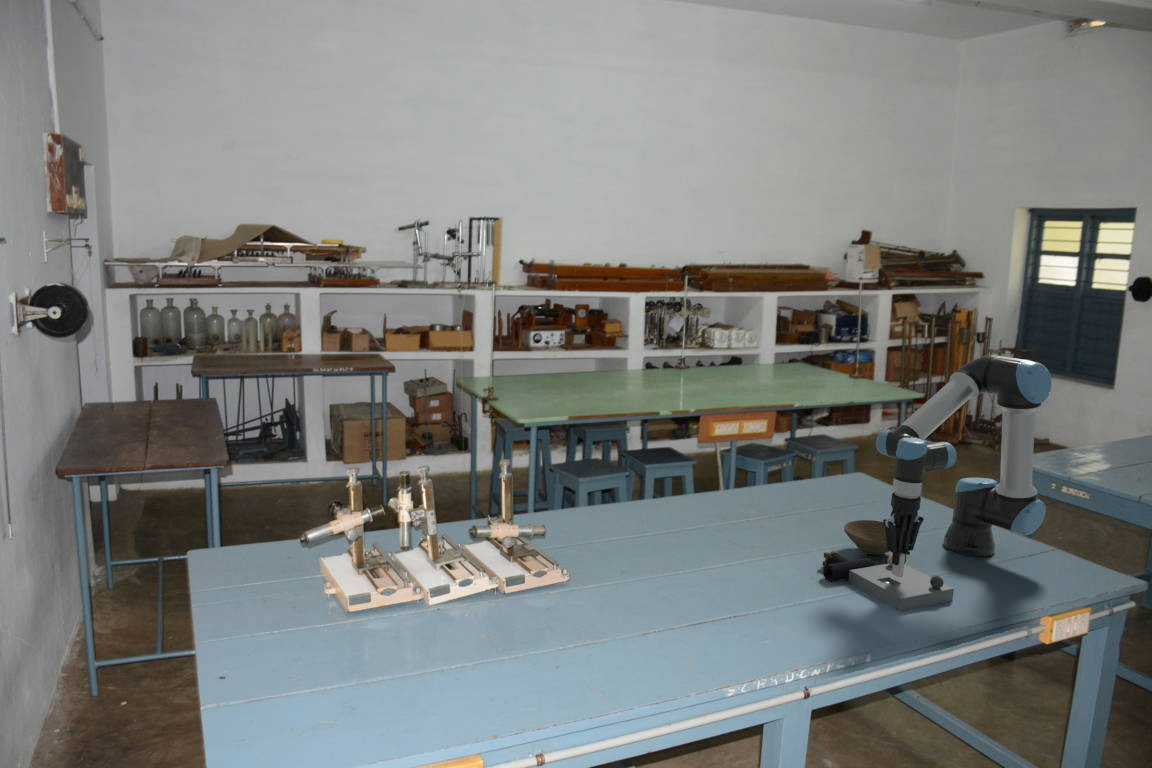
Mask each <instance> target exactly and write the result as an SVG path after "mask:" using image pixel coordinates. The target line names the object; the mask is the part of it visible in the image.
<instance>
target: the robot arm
mask: <svg viewBox="0 0 1152 768" xmlns="http://www.w3.org/2000/svg"><path fill="white" fill-rule="evenodd" d="M1051 390H1052V377H1051V374H1050V371H1049V369H1048V368H1047V367H1046V366H1045V365H1044V364H1042V363H1040V362H1037V361H1033V360H1031V359H1022V358H1016V357H1009V356H1002V355H999V354H998V355H997V354H989V355H988V354H987V355H983V356H980V357H978V358H975V359H973V360H971V361H968V362H967V363H965V364H963V365H962V366H960V367H959V368H958V369H957V370H955V371H954V372H953V373H952V374H951V375H950V377H949V381H948V382H947V383H946V384H945V385H944V386H943V387H941V388H940V389H939V390H938V391H937V392H936V393H935V394H933V396H931V397H930V398H929V399H928V400H927V401H926V402H925V403H923V405H922V406H920V407H919V408H918V409H917V410H916V411H915V412H914V413H912V415H910V416H909V417H907V419H906V420H904V421H903V422H902V423H901V424H900V425H899V426H898V427H897V428H896V429H895V430H893V429H884V430H881V431H880V432H879V433H878V435H877V436H876V439H875V447H876V450H877V451H878V453H880V454H881V455H884V456H886V457H888V458H890V459H891V458H892V459H895V463H894V465H895V466H894V473H893V474H894V475H893V483H892V494H891V498H890V499H891V500H890V506H891V508H892V511H891V513H890V516H889V518H888V519H887V518H884V519H883V520H882V522H883V523H884V525H885V530H886V542H887V550H888V551H889V552H891V553H892V555H893V556H892V564H893V566H892V574H894V575H896V576H897V577H903V571H904V564H905V565H906V562H907V555H908V556H909V555H910V554H911V552H910V551H913V550H914V548H915V545H916V541H917V539H918V535H919V531H920V528H921V525H922V524H923V522H924V519H925V518H924V517H922V516H920V515H918V513H919V512H918V511H919V510H920V508H921V500H922V497H921V496H922V495H923V494H922V493H923V485H924V484H923V482H924V475H925V473H926V472H932V471H933V472H934V471H941V470H945V469H949V468H951V467H953V466H954V465H955V463H956V461H957V457H958V456H957V455H958V454H957V451H956V448H955V447H954V446H953V445H952V444H951V443H950V442H946V441H937V442H935V441H934V442H933V441H930V440H927V438H928V436H930V435H931V434H932V433H933V432H934V431H936V430H937V428H939V426H941V425H942V424H943V423H944V422H945V421H947V419H948V418H950V417H951V416H952V415H953V414H954V413H956V411H957V410H959V409H960V408H961V407H962V406H963V405H965V403H966V402H967V401H968V400H973V399H976V398H977V397H978V396H979V395H981V394H992V395H996V404H997V406H998V407H1000V408H1001V410H1002V413H1001V414H1002V416H1001V445H1000V446H1001V449H1000V476H999V477H1000V480H999V483H998V481H997V480H995V479H993V478H986V477H964V478H961V479H959V480H958V481H957V483H956V488H955V490H954V493H955V495H954V503H953V511H952V512H953V513H952V519H951V523H950V525H949V527H948V529H947V531H946V533H945V534H944V536H943V546H944V547H945V548H947V549H948V550H950V551H953V552H955V553H958V554H961V555H966V556H970V557H971V556H973V557H989V556H990V557H991V556H992V555H995V551H996V544H995V542H994V541H995V540H994V535H993V531H992V529H993V528H992V527H993V526H994V527H998V528H1000V529H1002V530H1005V531H1008V532H1011V533H1013V534H1018V535H1022V536H1029V535H1031V534H1033V533H1035V532H1036V531H1037V529H1038V528H1039V527H1040V526H1041V525H1042V523H1043V522H1044V518H1045V516H1046V511H1047V510H1046V507H1047V506H1046V504H1045V502H1044V501H1042V500H1041V499H1038V489H1037V488H1036V487H1035V486H1034V485H1033V469H1034V468H1033V467H1034V443H1035V422H1036V421H1035V419H1036V418H1035V417H1036V411H1037V410H1038V409H1039V408H1041V406H1042V403H1043V402H1045V401H1046V400H1047V399H1048V398H1049V396H1050V392H1051Z"/></svg>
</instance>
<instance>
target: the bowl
mask: <svg viewBox="0 0 1152 768" xmlns="http://www.w3.org/2000/svg"><path fill="white" fill-rule="evenodd" d="M843 531H844V533H845V534H846V535H847V537H848V538H849V539H850V540H851V541H852V543H854V545H855V546H856V547H857V548H858V549H859V550H860V551H862V552H863V553H865V554H868V555H873V556H879V555H884V554H887V553H889V552H890V551H888V550H887V542H886V530H885V525H884V523H883V521H880V520H871V519H870V520H869V519H865V520H864V519H862V520H859V519H858V520H852V521H850V522H847V523H845V524H844V526H843Z"/></svg>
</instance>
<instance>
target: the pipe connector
mask: <svg viewBox="0 0 1152 768" xmlns="http://www.w3.org/2000/svg"><path fill="white" fill-rule="evenodd" d="M823 558H825V560H823V561H822V566H823V568H822V574H823V577H824V579H825V580H826V581H828V582H829V583H835V582H842V581H846V580H847V581H848V580H849V570H853V569H859V568H865V567H871V566H876V564H875V563H874V561H873V559H871V558H870V557H869V558H860V559H854V560H849V559H848V558H846V557H844V556H842V554H841V553H838V552H837V551H835V550H834V551H830V552H828V551H826V552H823Z"/></svg>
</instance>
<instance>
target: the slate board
mask: <svg viewBox="0 0 1152 768" xmlns="http://www.w3.org/2000/svg"><path fill="white" fill-rule="evenodd" d="M931 578H932V576H929V575H927V574H925V573H923V572H921V571H919V570H917V569H915V568H913V567H911V566H909V565H907V564H906V563H905V564H904V571H903V577H897V576H896V575H894V574H892V566H890V565H889V564H888V563H886V564H885V563H884V564H880V565H875V566H871V567H865V568H859V569H853V570H849V579H847V582H848V583H850V584H852V585H854V586H855V587H857V588H859V589H860V590H863V591H865V592H866V593H868V594H869V595H871V596H874V597H875V598H876V599H879V600H880V601H882V602H884V603H886V604H887V605H889V606H891V607H892V608H895V609H897V610H898V611H900V612H901V611H902V612H903V611H906V610H912V609H917V608H920V607H926V606H927V607H928V606H931V605H936V604H941V603H947V602H951V601H953V600H954V599H953V598H954V591H955V590H954V588H953V587H951V586H950V585H947V584H946V583H943V586H942V587H941V588H938V589H937V588H934V587H932V586H931V584H930V580H931ZM885 581H887V582H890V583H891V584H892V585H889V586H888V585H886V584H884V583H883V582H885Z"/></svg>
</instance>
